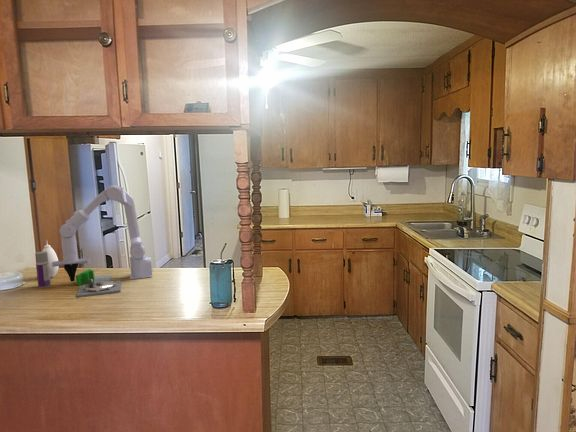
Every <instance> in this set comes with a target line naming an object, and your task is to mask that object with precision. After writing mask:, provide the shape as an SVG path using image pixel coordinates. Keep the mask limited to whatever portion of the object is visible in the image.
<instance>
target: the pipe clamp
mask: <svg viewBox="0 0 576 432" xmlns="http://www.w3.org/2000/svg"><path fill="white" fill-rule="evenodd" d="M89 279H93V281H94V280H95V273H94V270H92V269H91V268H88V269H86V270H84V271H83V272H81V273H79V274H77V275H76V274H75V280H76V286H77V287H80V286H81V285H86V284H89Z"/></svg>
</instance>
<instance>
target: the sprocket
mask: <svg viewBox="0 0 576 432" xmlns="http://www.w3.org/2000/svg"><path fill="white" fill-rule="evenodd" d="M113 281H114V280H111V281H100V282H94V280H93V279H89V283H87V284H88V285H87V284H85V285H86V286H83V289H86V291H87V292H88V291H96V292H99V291H102V290H107V289H111V288H112V287H114V286H116V283H114V282H113Z"/></svg>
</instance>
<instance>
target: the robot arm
mask: <svg viewBox="0 0 576 432" xmlns="http://www.w3.org/2000/svg"><path fill="white" fill-rule="evenodd" d="M109 200H111V201H114V202H118V203H120V204H122V206H123V208H124V212H125V218H126V224H127V229H128V234H129V239H130V247H129V248H130V250H129V251H130V252H129V253H130V257H129V265H130V274H129V275H130V277H129V278H130V280H136V279H144V278H146V279H147V278H153V268H152V258H151V256H147V255H146V250H145V249H146V247H145V245H144V244H143V242H142V239H141V232H140V228H139V227H140V226H139V223H138V217H137V213H136V212H137V211H136V205H135V201H134V198H133V197H132V196H131V195H130V194H129V193H128V192H127V191H126V190H125V189H124V188H123V187H121V186H119V185H117V184H111V185H109V186H108V187H107V188H106V189H104V190H103V191H101V192H100V193H99V194H97V195H96V197H94V198H93V200H92V201H90V202H89V204H87V206H85V207H84V209H79V210H77V211H74V212H73V213H72V214H73V215H72V216H71V217H70V218H69V219H66V220H65V223H64V224H62V225H61V227H60V228H59V234H60V235H61V250H62V251H61V252H62V260H58V261H55V262H52V267H55V266H59V267H63V269H64V270H65V272H66V273H67V275H68V278H69V280H70V282H75V280H76V272H77V269H78V268H79V267H78V266H79V265H83V264H87V265H88V264H90V258H79V255H78V243H77V239H76V233H77V230H80V229H81V228H82V227H83V226H84V225H85V224H86V223H87V222H88V221H89V220H90V214H91V213H92V212H93V211H94V210H96V209H97V208H98V207H99V206H100V205H101V204H102V203H104V202H108V201H109Z"/></svg>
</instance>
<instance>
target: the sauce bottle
mask: <svg viewBox="0 0 576 432" xmlns="http://www.w3.org/2000/svg"><path fill="white" fill-rule="evenodd" d="M48 243H49V242H48V239H46V245H44V246H43V249H42V250H41V252H44V251H46V252H47V255H48V262H49V272H50V279H51V278H54V277H55V275H57V274H58V272H59V267H60V266H55V267H52V262H55V261H59V258H58V255H57V253H56V252H55V250H54V248H53V247H52V246H51V245H50V244H48Z"/></svg>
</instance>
